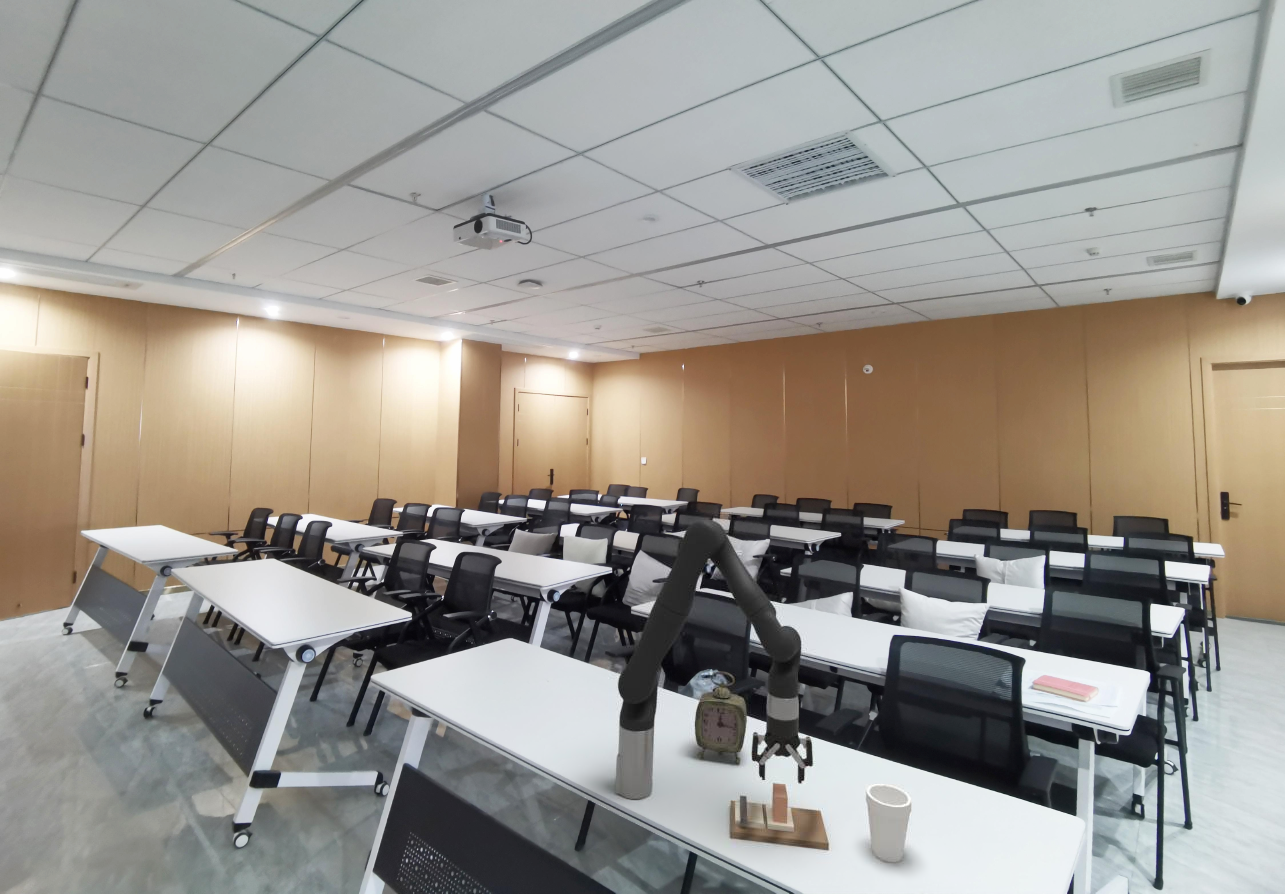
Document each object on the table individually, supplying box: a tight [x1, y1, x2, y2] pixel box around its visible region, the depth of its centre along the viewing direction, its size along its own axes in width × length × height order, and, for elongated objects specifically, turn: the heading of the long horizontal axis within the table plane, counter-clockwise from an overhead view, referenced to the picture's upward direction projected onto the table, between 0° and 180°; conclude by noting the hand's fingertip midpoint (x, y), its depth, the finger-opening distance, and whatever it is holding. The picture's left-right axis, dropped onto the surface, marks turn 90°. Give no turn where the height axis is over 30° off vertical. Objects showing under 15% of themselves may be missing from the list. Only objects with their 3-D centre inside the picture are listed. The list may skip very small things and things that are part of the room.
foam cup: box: [865, 783, 912, 863], centre depth 138 cm, size 10×9×13 cm
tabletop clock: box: [694, 671, 748, 765], centre depth 180 cm, size 14×9×25 cm, turn 76°
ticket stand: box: [730, 795, 830, 851], centre depth 146 cm, size 22×13×4 cm, turn 82°
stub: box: [766, 782, 794, 832], centre depth 146 cm, size 6×8×7 cm
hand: (781, 780), depth 146 cm, fingers open, 8 cm apart
